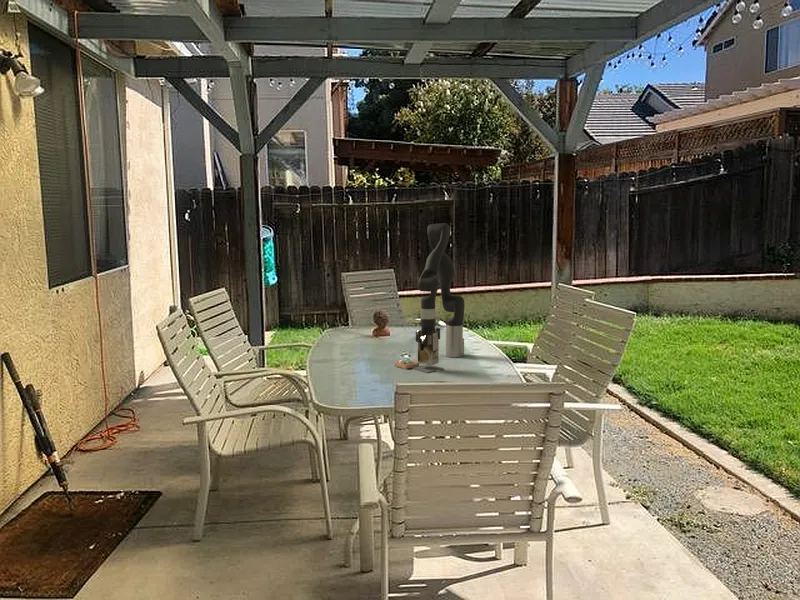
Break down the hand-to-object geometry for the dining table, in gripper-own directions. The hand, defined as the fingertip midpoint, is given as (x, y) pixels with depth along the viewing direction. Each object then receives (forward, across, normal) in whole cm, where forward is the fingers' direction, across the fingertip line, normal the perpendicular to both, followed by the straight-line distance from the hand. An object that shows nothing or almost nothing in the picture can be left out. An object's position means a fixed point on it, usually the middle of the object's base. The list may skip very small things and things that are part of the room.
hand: (428, 349), depth 345 cm
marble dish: (+10, +5, -11) cm, 16 cm away
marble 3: (+8, +5, -9) cm, 13 cm away
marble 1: (+8, +7, -13) cm, 16 cm away
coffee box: (+7, 0, 0) cm, 7 cm away
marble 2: (+8, +3, -13) cm, 15 cm away
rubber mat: (+10, 0, 0) cm, 10 cm away
